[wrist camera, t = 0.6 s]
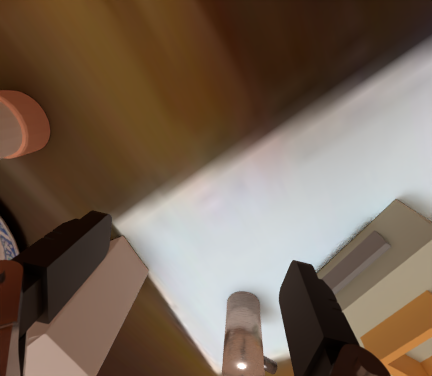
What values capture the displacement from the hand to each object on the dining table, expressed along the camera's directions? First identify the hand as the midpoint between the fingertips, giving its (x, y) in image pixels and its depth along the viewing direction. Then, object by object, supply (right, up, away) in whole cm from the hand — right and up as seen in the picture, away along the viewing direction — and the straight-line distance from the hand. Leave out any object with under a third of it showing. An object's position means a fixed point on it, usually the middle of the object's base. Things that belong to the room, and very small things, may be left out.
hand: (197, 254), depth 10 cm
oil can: (+6, -16, +27) cm, 32 cm away
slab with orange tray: (+25, -11, +23) cm, 35 cm away
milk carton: (-14, -8, +26) cm, 31 cm away
